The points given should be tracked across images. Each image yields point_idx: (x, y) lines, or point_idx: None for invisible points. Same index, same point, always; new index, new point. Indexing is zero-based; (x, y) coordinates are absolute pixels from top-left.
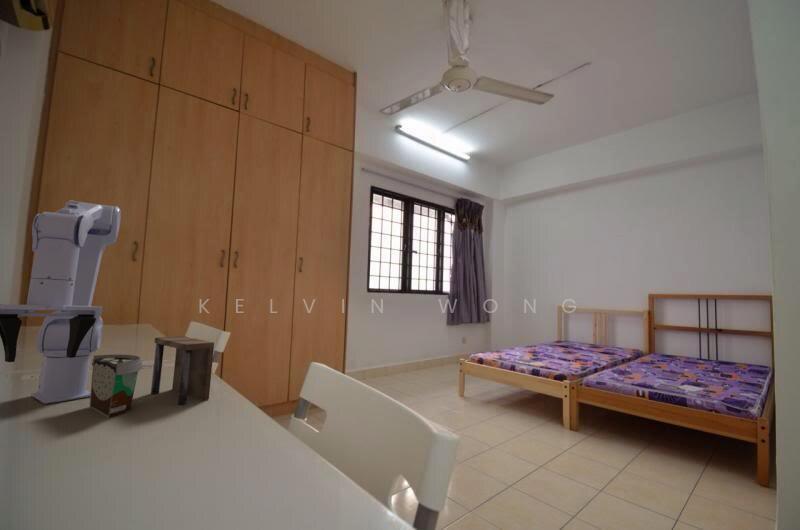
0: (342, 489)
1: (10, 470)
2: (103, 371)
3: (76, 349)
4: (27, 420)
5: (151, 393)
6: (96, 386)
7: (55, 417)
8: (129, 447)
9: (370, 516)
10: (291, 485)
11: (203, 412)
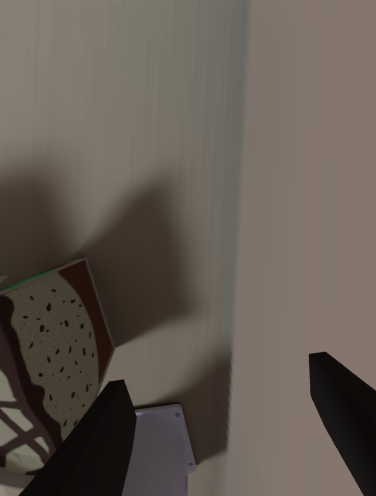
0: None
1: (243, 28)
2: (52, 376)
3: (90, 410)
4: (206, 322)
5: None
6: (89, 368)
7: (168, 314)
8: (55, 8)
9: None
10: None
11: None
